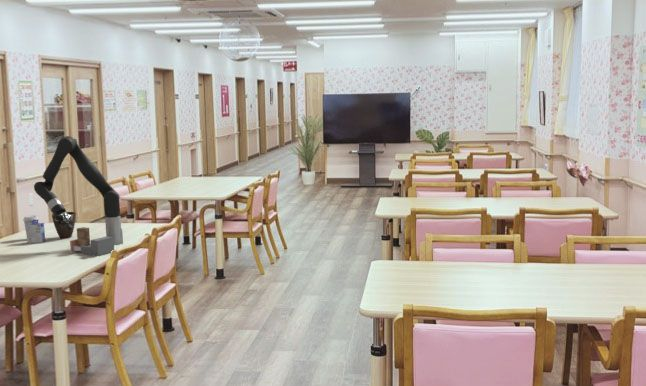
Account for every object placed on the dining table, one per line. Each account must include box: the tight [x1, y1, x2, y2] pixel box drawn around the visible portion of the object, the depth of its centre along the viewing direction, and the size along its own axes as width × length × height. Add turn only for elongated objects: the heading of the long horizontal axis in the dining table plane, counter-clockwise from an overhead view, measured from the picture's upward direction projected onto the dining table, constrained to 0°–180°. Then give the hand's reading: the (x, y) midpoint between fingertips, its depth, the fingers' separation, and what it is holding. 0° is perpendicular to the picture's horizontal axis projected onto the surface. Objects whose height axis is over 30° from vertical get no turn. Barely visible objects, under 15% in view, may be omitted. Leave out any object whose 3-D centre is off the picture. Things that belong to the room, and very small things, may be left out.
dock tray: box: [69, 238, 91, 252], centre depth 434 cm, size 10×11×6 cm
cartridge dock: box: [80, 235, 115, 257], centre depth 428 cm, size 15×12×9 cm
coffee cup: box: [22, 214, 39, 236], centre depth 476 cm, size 10×10×15 cm
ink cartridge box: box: [25, 219, 46, 244], centre depth 464 cm, size 10×6×14 cm, turn 89°
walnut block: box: [76, 226, 91, 247], centre depth 433 cm, size 5×5×12 cm
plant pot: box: [51, 211, 77, 240], centre depth 478 cm, size 15×15×16 cm
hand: (71, 228), depth 438 cm, fingers closed
